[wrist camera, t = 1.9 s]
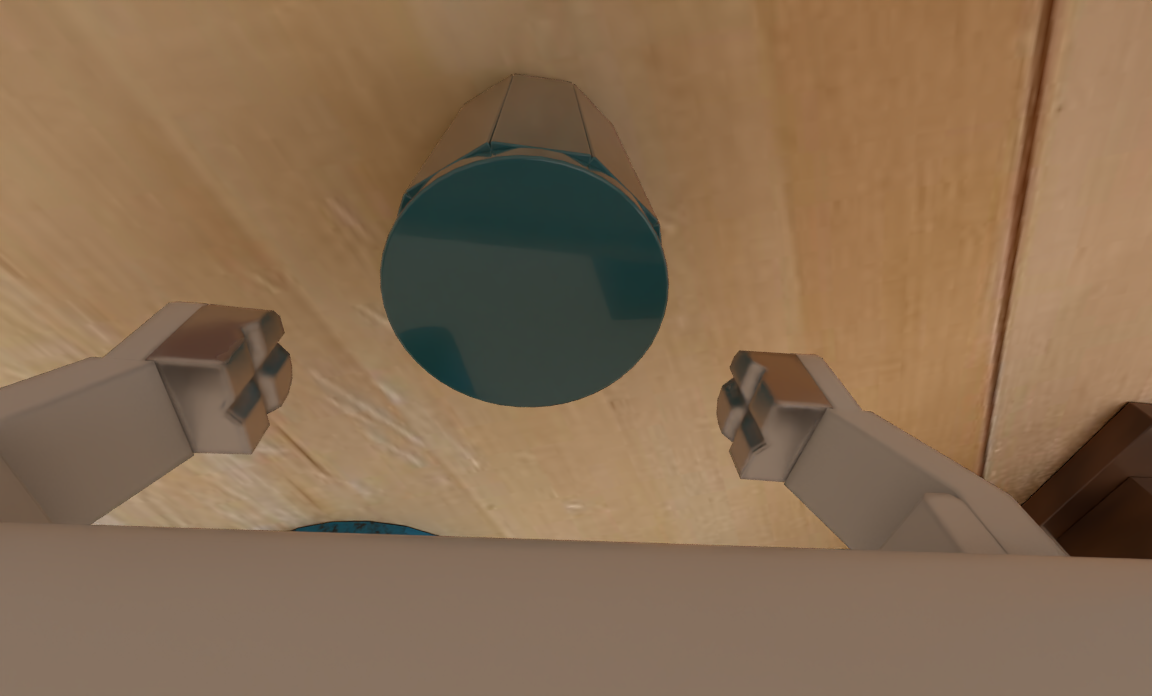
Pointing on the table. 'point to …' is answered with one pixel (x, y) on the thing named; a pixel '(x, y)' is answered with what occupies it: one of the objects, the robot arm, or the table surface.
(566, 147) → the teal piece
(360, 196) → the table surface
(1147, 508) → the rack
